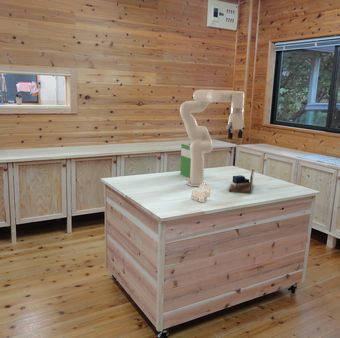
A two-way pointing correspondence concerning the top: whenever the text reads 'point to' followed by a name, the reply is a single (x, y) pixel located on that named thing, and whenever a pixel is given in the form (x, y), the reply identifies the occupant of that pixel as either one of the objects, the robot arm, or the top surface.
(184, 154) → the hardback book
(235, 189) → the brown desk organizer
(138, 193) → the top surface
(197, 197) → the cream knobbly stepped block
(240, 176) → the trainer
